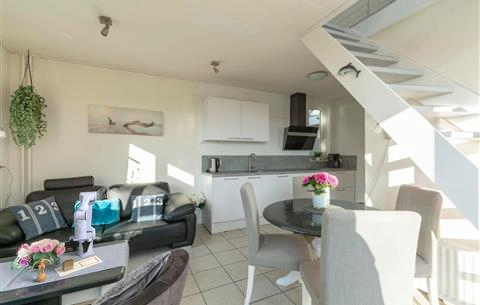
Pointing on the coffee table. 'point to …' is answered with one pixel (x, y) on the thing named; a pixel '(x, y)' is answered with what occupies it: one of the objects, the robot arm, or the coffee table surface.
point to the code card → (80, 265)
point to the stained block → (68, 265)
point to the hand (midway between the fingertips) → (80, 252)
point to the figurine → (41, 275)
